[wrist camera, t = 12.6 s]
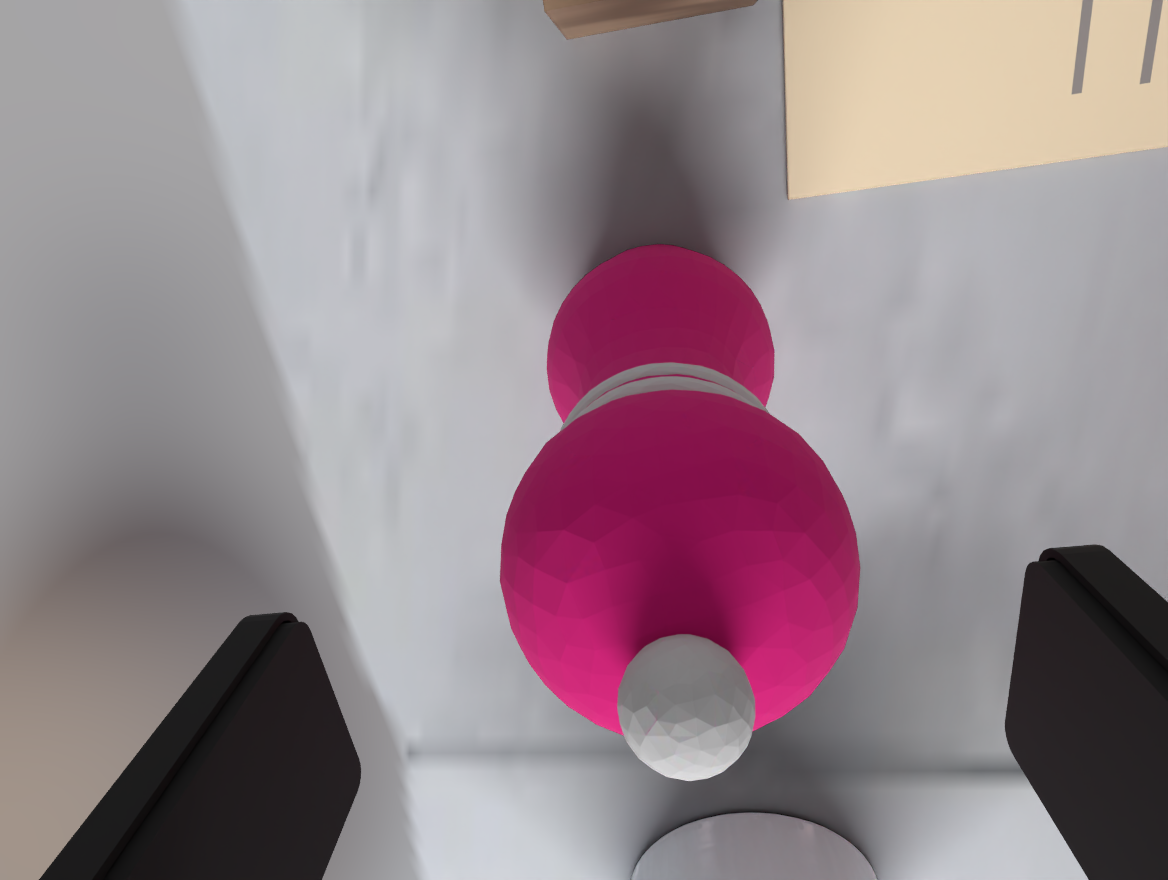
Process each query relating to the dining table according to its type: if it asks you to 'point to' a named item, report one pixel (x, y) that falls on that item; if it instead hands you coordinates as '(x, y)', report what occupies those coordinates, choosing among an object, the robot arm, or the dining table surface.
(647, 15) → the block
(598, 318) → the pepper mill
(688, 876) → the utensil holder
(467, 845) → the dining table surface
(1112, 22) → the letter
